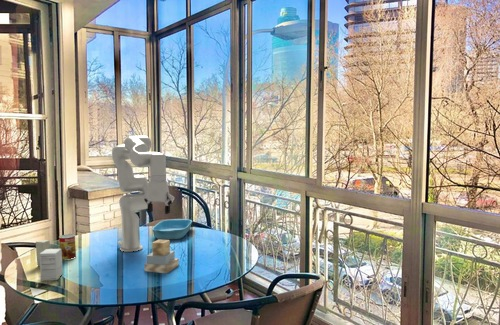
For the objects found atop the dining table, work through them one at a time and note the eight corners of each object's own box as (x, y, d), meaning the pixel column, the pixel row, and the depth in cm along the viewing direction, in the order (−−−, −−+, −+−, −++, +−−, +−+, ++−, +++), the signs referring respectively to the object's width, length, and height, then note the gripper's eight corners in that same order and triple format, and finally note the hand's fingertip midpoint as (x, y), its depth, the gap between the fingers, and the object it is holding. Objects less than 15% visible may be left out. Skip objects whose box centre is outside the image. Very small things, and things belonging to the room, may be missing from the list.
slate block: (146, 263, 192) (146, 255, 192) (156, 257, 202) (156, 249, 201) (166, 265, 190) (165, 257, 189) (174, 258, 199) (174, 250, 199)
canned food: (69, 260, 209) (68, 238, 208) (56, 259, 211) (55, 237, 210) (79, 256, 217) (78, 234, 216) (66, 255, 218) (65, 233, 218)
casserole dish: (163, 228, 281) (162, 218, 281) (194, 227, 281) (194, 217, 280) (148, 242, 245) (147, 230, 244) (184, 242, 244) (184, 230, 243)
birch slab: (144, 272, 192) (144, 264, 192) (157, 264, 203) (157, 256, 203) (166, 274, 188) (166, 266, 188) (178, 266, 200) (178, 258, 200)
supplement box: (47, 275, 188) (45, 248, 187) (63, 274, 188) (62, 248, 188) (40, 280, 180) (38, 253, 180) (57, 280, 181) (55, 252, 180)
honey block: (152, 254, 193) (152, 242, 193) (159, 251, 199) (158, 239, 198) (163, 255, 191) (163, 243, 191) (170, 252, 197) (169, 240, 197)
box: (51, 265, 202) (50, 240, 202) (44, 267, 198) (43, 242, 197) (43, 264, 204) (42, 239, 203) (36, 266, 200) (35, 241, 199)
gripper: (138, 178, 195) (139, 213, 196) (169, 180, 189) (170, 215, 191) (147, 176, 202) (148, 210, 203) (177, 178, 196) (178, 212, 198)
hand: (158, 212), depth 197 cm, fingers open, 9 cm apart
